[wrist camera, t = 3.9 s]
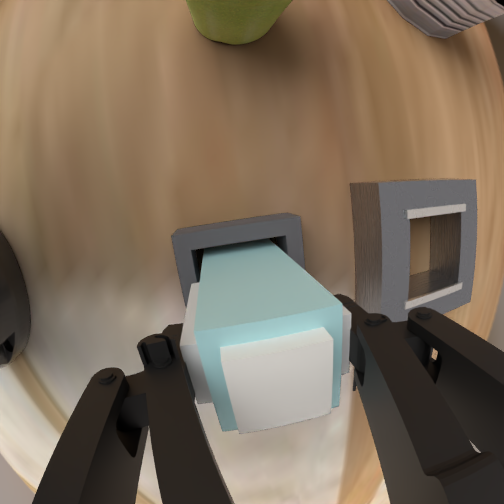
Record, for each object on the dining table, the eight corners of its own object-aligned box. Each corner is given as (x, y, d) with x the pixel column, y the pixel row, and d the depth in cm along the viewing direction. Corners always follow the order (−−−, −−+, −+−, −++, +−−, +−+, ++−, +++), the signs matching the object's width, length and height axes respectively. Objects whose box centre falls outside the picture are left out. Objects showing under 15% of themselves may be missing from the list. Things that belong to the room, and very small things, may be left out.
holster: (197, 329, 21) (196, 350, 18) (177, 229, 19) (171, 236, 16) (296, 312, 21) (309, 329, 18) (287, 212, 20) (300, 216, 17)
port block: (355, 316, 22) (380, 339, 18) (349, 183, 20) (380, 182, 16) (443, 288, 23) (471, 302, 19) (445, 178, 21) (477, 179, 17)
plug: (214, 307, 20) (223, 447, 8) (204, 248, 19) (192, 346, 7) (274, 297, 21) (346, 419, 8) (268, 238, 20) (353, 314, 7)
